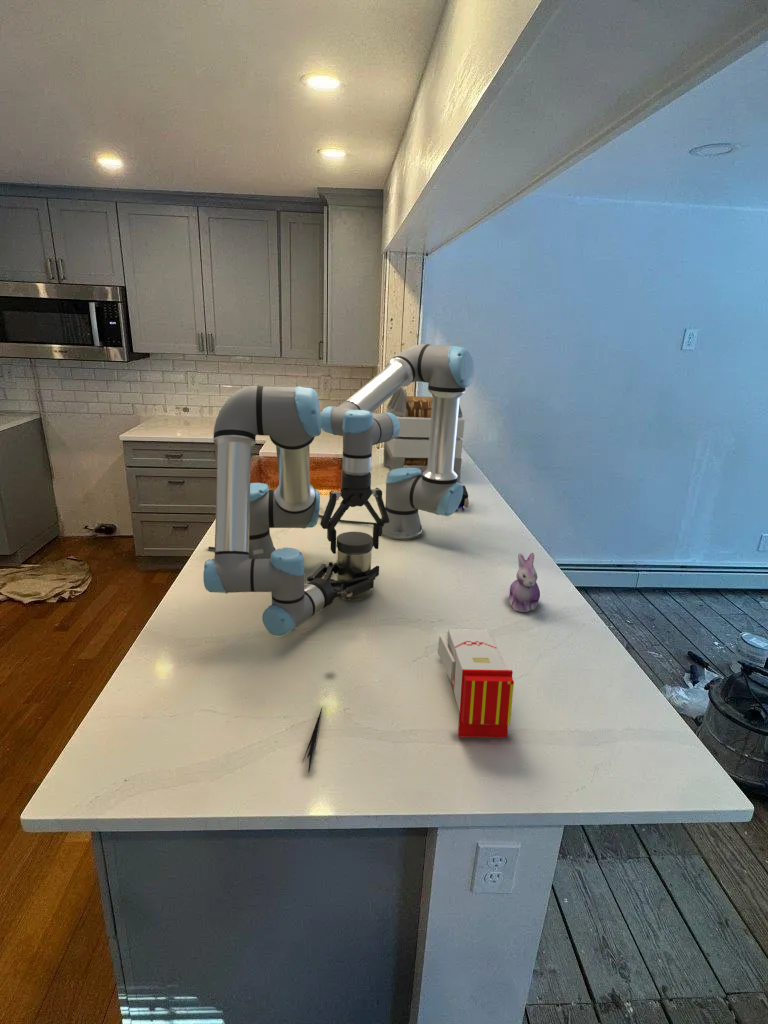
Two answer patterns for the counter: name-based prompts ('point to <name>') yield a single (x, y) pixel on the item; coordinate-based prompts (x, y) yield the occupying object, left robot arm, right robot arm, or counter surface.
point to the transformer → (415, 433)
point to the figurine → (525, 586)
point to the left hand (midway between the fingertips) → (362, 565)
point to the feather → (313, 740)
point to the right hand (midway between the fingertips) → (354, 549)
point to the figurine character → (464, 499)
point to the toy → (478, 682)
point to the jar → (353, 568)
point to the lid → (354, 542)
